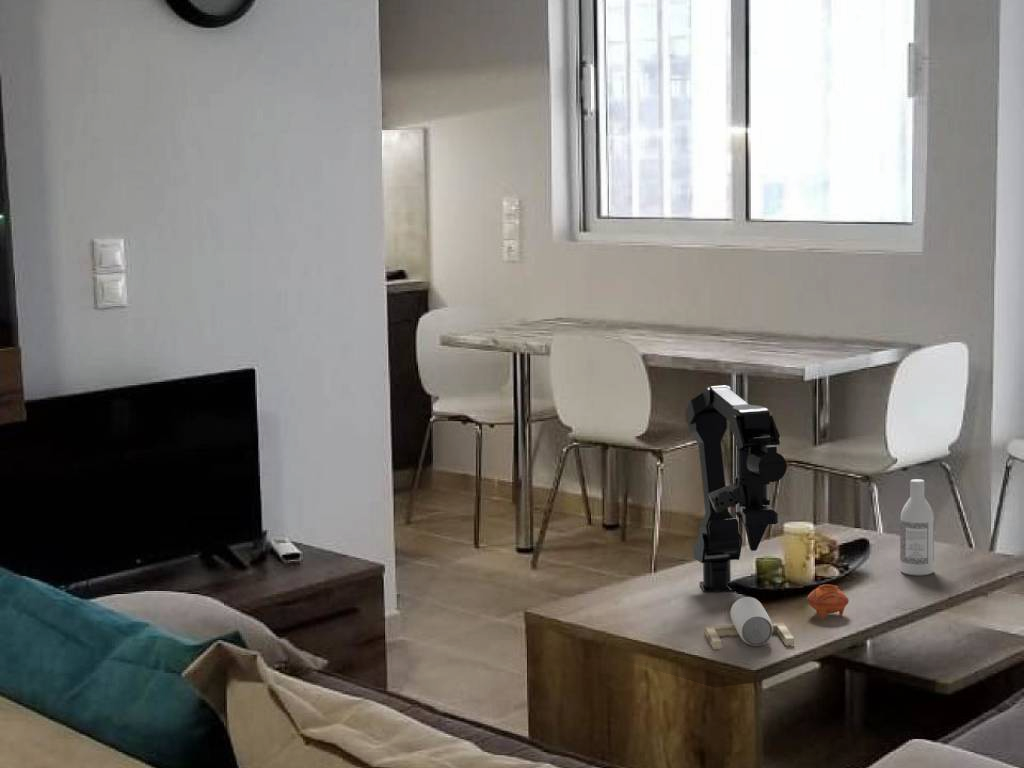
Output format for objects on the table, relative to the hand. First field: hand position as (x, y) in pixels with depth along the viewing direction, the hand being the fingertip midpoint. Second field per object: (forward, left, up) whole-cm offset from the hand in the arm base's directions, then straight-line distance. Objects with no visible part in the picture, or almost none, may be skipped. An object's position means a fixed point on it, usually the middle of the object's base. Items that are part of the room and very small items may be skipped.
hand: (753, 550), depth 320 cm
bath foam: (-26, +40, -13) cm, 49 cm away
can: (+9, -3, -10) cm, 14 cm away
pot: (+3, +14, -13) cm, 20 cm away
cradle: (+16, -4, -13) cm, 21 cm away
